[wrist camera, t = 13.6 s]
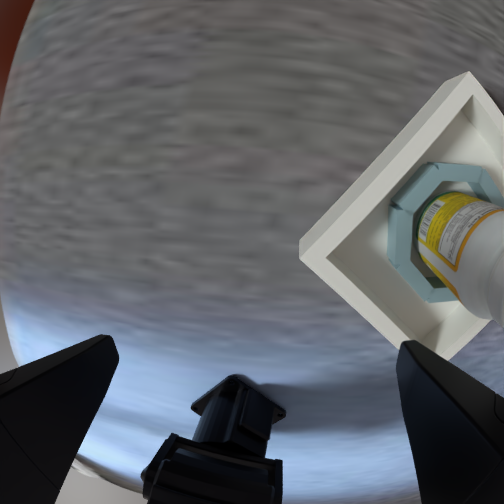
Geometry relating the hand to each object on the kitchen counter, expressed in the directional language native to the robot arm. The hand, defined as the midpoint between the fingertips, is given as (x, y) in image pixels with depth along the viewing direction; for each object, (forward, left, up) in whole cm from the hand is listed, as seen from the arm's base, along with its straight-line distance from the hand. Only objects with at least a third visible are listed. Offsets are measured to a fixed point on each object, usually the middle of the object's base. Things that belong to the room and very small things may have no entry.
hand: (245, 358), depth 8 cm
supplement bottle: (+8, -8, -11) cm, 16 cm away
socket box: (+8, -8, -12) cm, 16 cm away
